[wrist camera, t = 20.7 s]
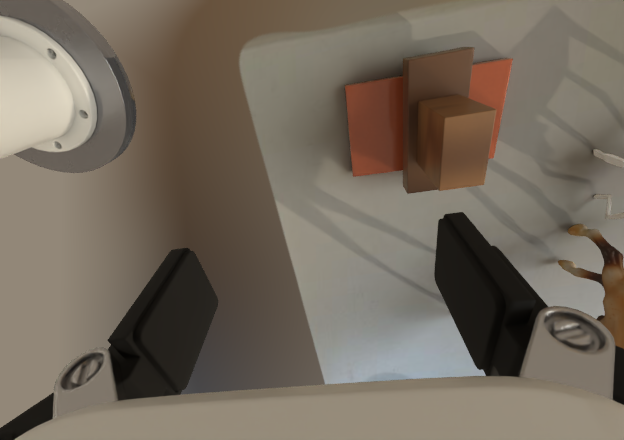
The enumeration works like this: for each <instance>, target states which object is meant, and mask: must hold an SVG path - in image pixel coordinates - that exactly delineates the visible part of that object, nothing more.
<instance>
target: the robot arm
mask: <svg viewBox="0 0 624 440" xmlns="http://www.w3.org/2000/svg"><path fill="white" fill-rule="evenodd" d="M96 122H97V107H96V102H95V98H94V94H93V92H92V89H91V87H90V85H89V82H88V81H87V79H86V77H85V75H84V74H83V72H82V70H81V69H80V67H79V66H78V65H77V63H76V62H75V61H74V60H73V58H72V57H71V56H70V55H69V54H68V53H67V52H66V51H65V50H64V49H63V48H62V47H61V46H60V45H59V44H58V43H57V42H56V41H54V40H53V39H52V38H51V37H49V36H48V35H47V34H45V33H44V32H42V31H41V30H39V29H37V28H36V27H34V26H32V25H30V24H28V23H25V22H23V21H21V20H18V19H15V18H11V17H6V16H0V159H1V158H4V157H7V156H10V155H12V154H15V153H18V152H20V151H23V150H26V149H28V148H31V147H32V148H35V149H38V150H42V151H47V152H64V151H69V150H72V149H74V148H77V147H79V146H81V145H82V144H84V143H85V142H87V140H88V139H89V138H90V137H91V136H92V134H93V132H94V130H95V127H96ZM435 281H436V284H437V286H438V288H439V290H440V292H441V294H442V296H443V299H444V301H445V303H446V305H447V307H448V309H449V311H450V313H451V315H452V317H453V319H454V322H455V324H456V326H457V328H458V330H459V332H460V334H461V336H462V338H463V340H464V343H465V345H466V347H467V349H468V351H469V353H470V355H471V357H472V359H473V361H474V363H475V365H476V367H477V368H478V369H479V370H481V369H483V370H484V372H485V374H486V376H468V377H446V378H424V379H406V380H390V381H374V382H358V383H342V384H327V385H312V386H297V387H284V388H283V387H282V388H270V389H254V390H239V391H225V392H212V393H199V394H185V395H180V394H181V392H182V390H184V389H185V388H186V387H187V385H188V382H189V379H190V377H191V374H192V372H193V369H194V366H195V364H196V361H197V359H198V356H199V353H200V351H201V348H202V345H203V343H204V340H205V338H206V335H207V332H208V330H209V327H210V324H211V322H212V319H213V317H214V314H215V311H216V309H217V306H218V299H217V296H216V294H215V292H214V290H213V288H212V286H211V284H210V282H209V280H208V278H207V276H206V274H205V272H204V270H203V268H202V266H201V264H200V262H199V260H198V258H197V256H196V254H195V253H194V252H193V251H190V249H188V248H182V249H175V250H171V252H170V253H169V254H168V255H167V257H166V258H165V260H164V261H163V263H162V264H161V265H160V267H159V268H158V270H157V271H156V272H155V274H154V275H153V277H152V278H151V280H150V281H149V282H148V284H147V285H146V287H145V288H144V290H143V291H142V292H141V294H140V295H139V297H138V298H137V299H136V301H135V302H134V304H133V305H132V306H131V308H130V309H129V311H128V312H127V314H126V315H125V317H124V318H123V319H122V321H121V322H120V324H119V325H118V326H117V328H116V329H115V331H114V332H113V333H112V335H111V336H110V338H109V339H108V341H109V343H110V344H111V346H110V347H109V349H108V350H107V349H105V348H95V349H91V350H89V351H87V352H85V353H83V354H81V355H80V356H78V357H77V358H75V359H74V360H73V361H71V362H70V363H69V364H68V365H67V366H66V367H65V368H64V370H63V371H62V372H61V373H60V374H59V376H58V378H57V380H56V382H55V386H54V393H52V394H51V395H49V396H48V397H46V398H45V399H43V400H42V401H40V402H39V403H37V404H36V405H34V406H33V407H31V408H30V409H28V410H27V411H25V412H24V413H22V414H21V415H19V416H18V417H16V418H15V419H13V420H12V421H10V422H9V423H7V424H6V425H4V426H3V427H1V428H0V440H624V349H623V348H621V347H618V346H616V345H615V341H614V337H613V336H612V334H611V333H610V331H609V330H608V329H607V328H606V327H605V326H604V325H603V324H602V323H601V322H600V321H598V320H596V319H595V318H593V317H592V316H590V315H588V314H586V313H584V312H581V311H579V310H576V309H572V308H568V307H561V306H553V307H548V306H547V305H546V304H545V303H544V301H543V300H542V299H541V298H540V297H539V296H538V294H537V293H536V292H535V291H534V290H533V288H532V287H531V286H530V285H529V284H528V283H527V281H526V280H525V279H524V278H523V277H522V276H521V274H520V273H519V272H518V271H517V270H516V269H515V267H514V266H513V265H512V264H511V263H510V262H509V260H508V259H507V258H506V257H505V256H504V255H503V253H502V252H501V251H500V250H499V249H498V248H497V247H495V246H491V245H490V244H489V243H488V242H487V240H486V239H485V238H484V237H483V236H482V234H481V233H480V232H479V231H478V230H477V228H476V227H475V226H474V225H473V224H472V222H471V221H470V220H469V219H468V218H467V216H466V215H465V214H464V213H463V212H459V213H452V214H445V215H444V218H443V219H440V220H439V222H438V235H437V248H436V261H435Z"/></svg>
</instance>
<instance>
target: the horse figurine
mask: <svg viewBox="0 0 624 440" xmlns="http://www.w3.org/2000/svg"><path fill="white" fill-rule="evenodd" d="M568 233H569V234H570V235H575V236H586V237H588V238H590V239H591V240H592V241H593V242H594V243H595V244H596V245H597V246H598V247H599V249H600V250H601V253H602V255H603V258H604V267H603V270H602V274H597V273H594V272H590V271H587V270H584V269H582V268H576V265H575V264H574V263H573V262H571V261H567V260H559V261H558V263H559V265H560V266H561V267H562V268H563V269H564V270H566V271H568V272H570V273H571V274H573V275H574V276H577V277H581V278H586V279H590V280H594V281H597V282H599V283H600V284H601V285H602V286H603V287H604V290H605V297H604V300H603V305H604V310H605V316H603V315H601V316H599V317H598V318H597V319H596V320H598V321H600V322H601V323H602V324H603V325H604V326H605V327H606V328H607V329H608V330H609V331H610V333H611V334H612V336H613V337H614V341H615V345H616V346H618V347H621V348H623V349H624V268H623V255H622V254H621V253H620V252H619V251H618V250H616V249H615V248H614V247H612V246H611V245H610V244H609V243H608V242H607V241H606V240H605V239H604V238H603V237H602V235H601V233H600V232H599V230H597V229H588V228H587V227H586V226H585V225H583V224H577V225H574V226H572V227H570V228H569V229H568Z"/></svg>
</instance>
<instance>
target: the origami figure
mask: <svg viewBox="0 0 624 440" xmlns="http://www.w3.org/2000/svg"><path fill="white" fill-rule="evenodd" d="M593 151H594V156H596V157H598V158H600V159H602V160H604V161H605V162H607V163H610V164H613V165H615V166H618V167H621V168H624V159H622V158H620V157H617V156H615V155H613V154H605V153H604V152H602V151H600V150H598V149H594V150H593ZM594 199H608V202H607V209H606V216H605V219H618V218H624V212H623V213H619V214H614V215H611V195H600V194H598V195H594Z"/></svg>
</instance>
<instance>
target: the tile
mask: <svg viewBox="0 0 624 440" xmlns="http://www.w3.org/2000/svg"><path fill="white" fill-rule="evenodd" d="M512 61H513V59H511V58H503V59H497V60H491V61H485V62H479V63H473V64H472V73H471V82H470V90H469V99H472V100H474V101H477V102H479V103H482V104H484V105H487V106H489V107H492V108H494V109H496V116H495V122H494V128H493V134H492V140H491V146H490V152H489V158H488V159H490V158H494V153H495V148H496V143H497V137H498V132H499V127H500V122H501V117H502V112H503V107H504V102H505V96H506V91H507V86H508V81H509V76H510V71H511V66H512ZM345 95H346V107H347V119H348V130H349V142H350V154H351V165H352V174H353V177H354V176H362V175H369V174H377V173H384V172H392V171H399V170H403V75H401V76H395V77H389V78H383V79H377V80H371V81H365V82H359V83H353V84H347V85H345Z"/></svg>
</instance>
